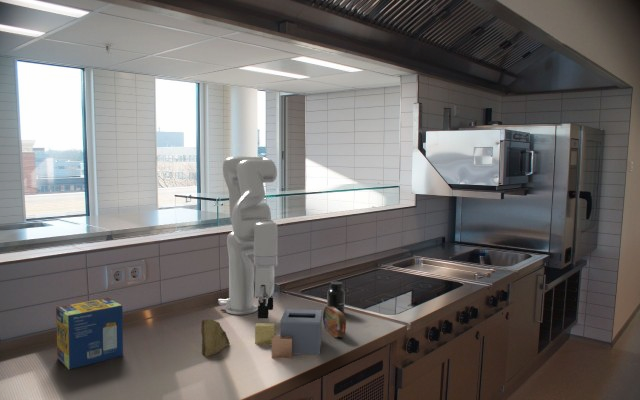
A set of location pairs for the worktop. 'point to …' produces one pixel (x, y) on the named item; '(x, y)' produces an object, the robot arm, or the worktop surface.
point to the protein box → (89, 332)
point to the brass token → (264, 333)
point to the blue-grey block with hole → (303, 329)
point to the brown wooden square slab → (282, 346)
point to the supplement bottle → (336, 296)
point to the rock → (212, 337)
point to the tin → (334, 321)
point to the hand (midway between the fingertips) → (265, 313)
